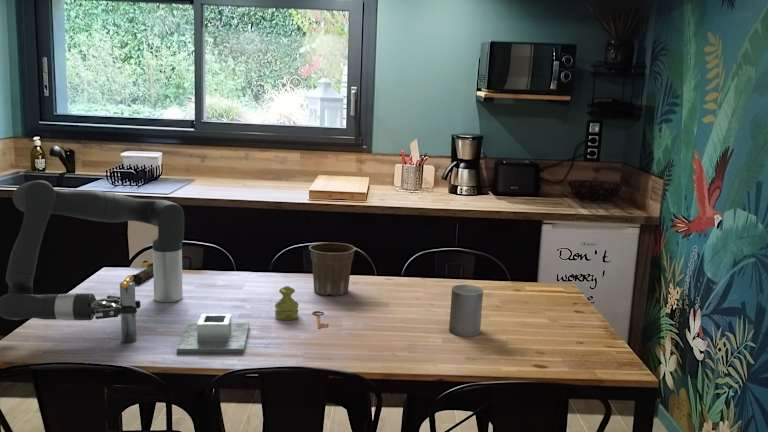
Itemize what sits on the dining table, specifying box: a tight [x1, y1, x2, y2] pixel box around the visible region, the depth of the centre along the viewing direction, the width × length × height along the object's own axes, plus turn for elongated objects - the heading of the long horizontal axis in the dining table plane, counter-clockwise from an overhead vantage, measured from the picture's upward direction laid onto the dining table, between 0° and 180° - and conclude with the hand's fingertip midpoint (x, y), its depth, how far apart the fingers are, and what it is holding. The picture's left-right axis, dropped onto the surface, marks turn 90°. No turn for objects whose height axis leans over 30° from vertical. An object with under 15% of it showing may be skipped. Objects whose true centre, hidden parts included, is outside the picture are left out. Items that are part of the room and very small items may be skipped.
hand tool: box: [131, 262, 154, 285], centre depth 268 cm, size 19×4×5 cm, turn 168°
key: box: [311, 310, 330, 330], centre depth 231 cm, size 6×1×15 cm
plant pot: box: [308, 242, 356, 297], centre depth 259 cm, size 16×16×16 cm
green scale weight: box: [274, 285, 299, 321], centre depth 232 cm, size 7×7×10 cm
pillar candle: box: [448, 284, 484, 338], centre depth 224 cm, size 10×10×15 cm
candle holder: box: [176, 313, 250, 355], centre depth 210 cm, size 20×18×6 cm
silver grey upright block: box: [119, 274, 138, 344], centre depth 207 cm, size 9×4×18 cm, turn 6°
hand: (138, 307), depth 207 cm, fingers closed on silver grey upright block, 4 cm apart
